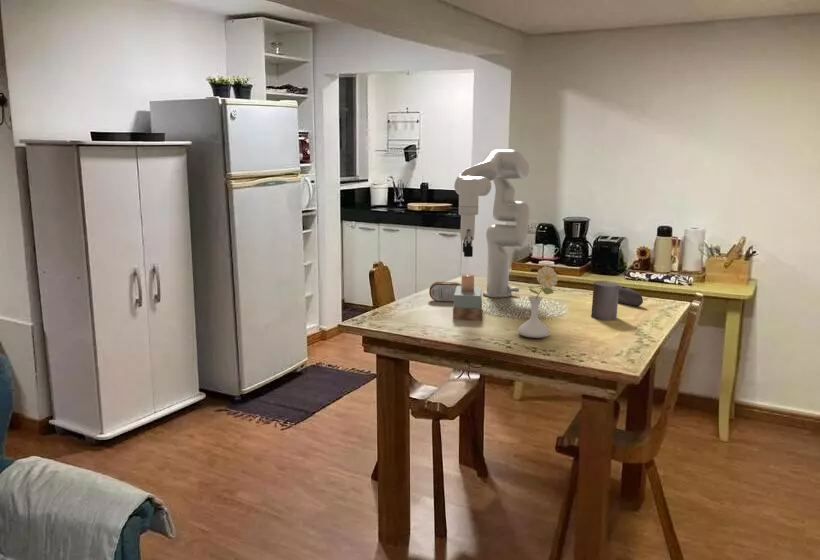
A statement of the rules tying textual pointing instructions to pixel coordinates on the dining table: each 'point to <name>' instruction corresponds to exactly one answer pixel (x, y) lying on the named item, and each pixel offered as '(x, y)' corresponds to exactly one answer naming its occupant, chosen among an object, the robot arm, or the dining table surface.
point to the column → (467, 283)
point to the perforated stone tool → (629, 296)
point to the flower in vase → (534, 325)
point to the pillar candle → (605, 300)
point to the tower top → (467, 298)
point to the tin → (443, 291)
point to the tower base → (467, 313)
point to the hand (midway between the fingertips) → (467, 254)
